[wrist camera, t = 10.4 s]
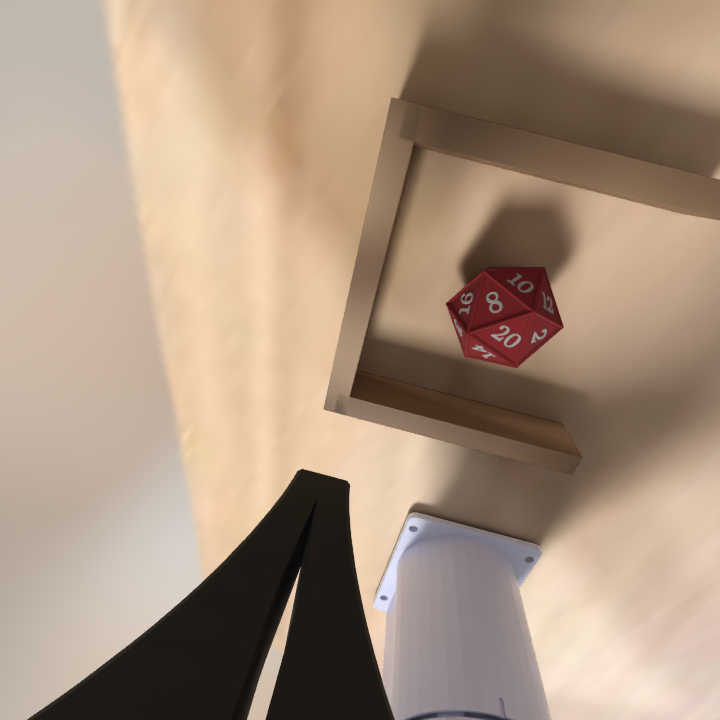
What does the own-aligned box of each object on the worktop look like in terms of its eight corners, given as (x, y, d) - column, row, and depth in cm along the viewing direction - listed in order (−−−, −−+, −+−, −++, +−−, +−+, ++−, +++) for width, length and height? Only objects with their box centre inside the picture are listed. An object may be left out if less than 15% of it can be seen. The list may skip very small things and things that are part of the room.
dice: (426, 315, 17) (429, 352, 14) (493, 229, 16) (517, 247, 12) (491, 359, 18) (510, 406, 14) (565, 281, 16) (607, 313, 13)
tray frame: (553, 439, 19) (572, 474, 17) (333, 382, 20) (323, 409, 17) (702, 185, 14) (756, 189, 12) (395, 108, 14) (391, 97, 12)
